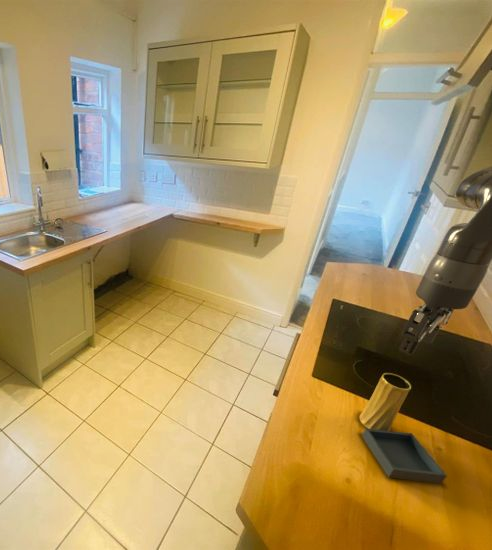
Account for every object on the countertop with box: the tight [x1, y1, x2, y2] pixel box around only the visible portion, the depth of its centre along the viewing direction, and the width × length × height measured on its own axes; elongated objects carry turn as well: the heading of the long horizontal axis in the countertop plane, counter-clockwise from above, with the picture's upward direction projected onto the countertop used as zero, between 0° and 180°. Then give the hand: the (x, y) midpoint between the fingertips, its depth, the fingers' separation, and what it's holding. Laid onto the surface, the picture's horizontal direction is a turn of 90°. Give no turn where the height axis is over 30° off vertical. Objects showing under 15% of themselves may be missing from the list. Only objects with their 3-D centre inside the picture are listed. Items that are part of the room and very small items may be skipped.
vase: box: [359, 372, 412, 431], centre depth 72 cm, size 6×6×14 cm
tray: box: [361, 428, 448, 484], centre depth 67 cm, size 10×10×3 cm
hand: (414, 346), depth 65 cm, fingers open, 8 cm apart
